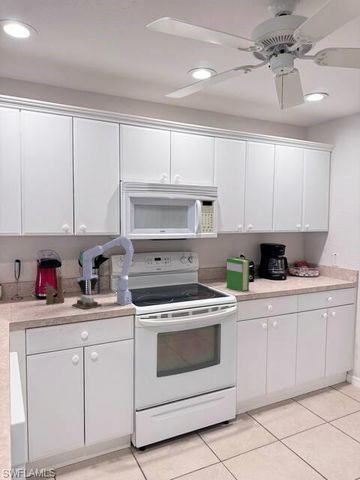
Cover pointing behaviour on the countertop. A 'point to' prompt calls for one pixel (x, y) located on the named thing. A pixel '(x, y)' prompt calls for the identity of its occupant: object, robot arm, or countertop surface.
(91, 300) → the light gray block
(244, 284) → the hardback book
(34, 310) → the countertop surface
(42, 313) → the countertop surface
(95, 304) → the rack
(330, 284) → the countertop surface
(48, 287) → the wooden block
